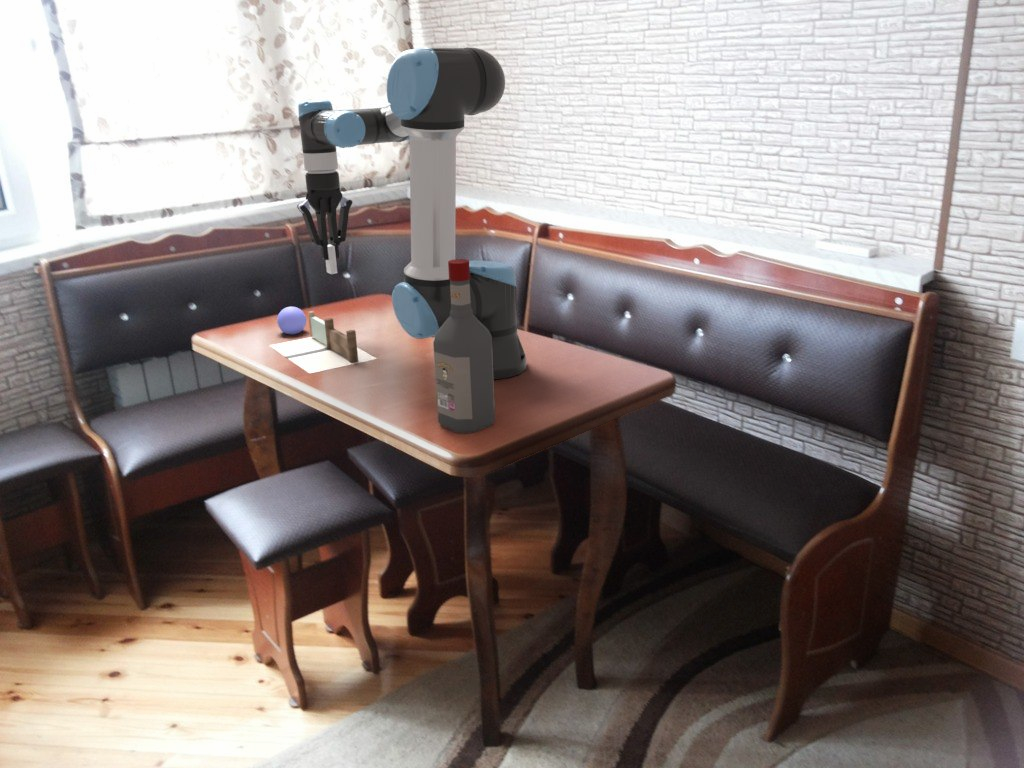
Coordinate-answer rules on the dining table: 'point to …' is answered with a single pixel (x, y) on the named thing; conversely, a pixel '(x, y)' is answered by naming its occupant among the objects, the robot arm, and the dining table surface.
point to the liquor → (463, 361)
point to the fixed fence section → (341, 341)
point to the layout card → (315, 355)
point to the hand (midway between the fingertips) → (332, 272)
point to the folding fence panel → (317, 327)
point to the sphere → (291, 320)
